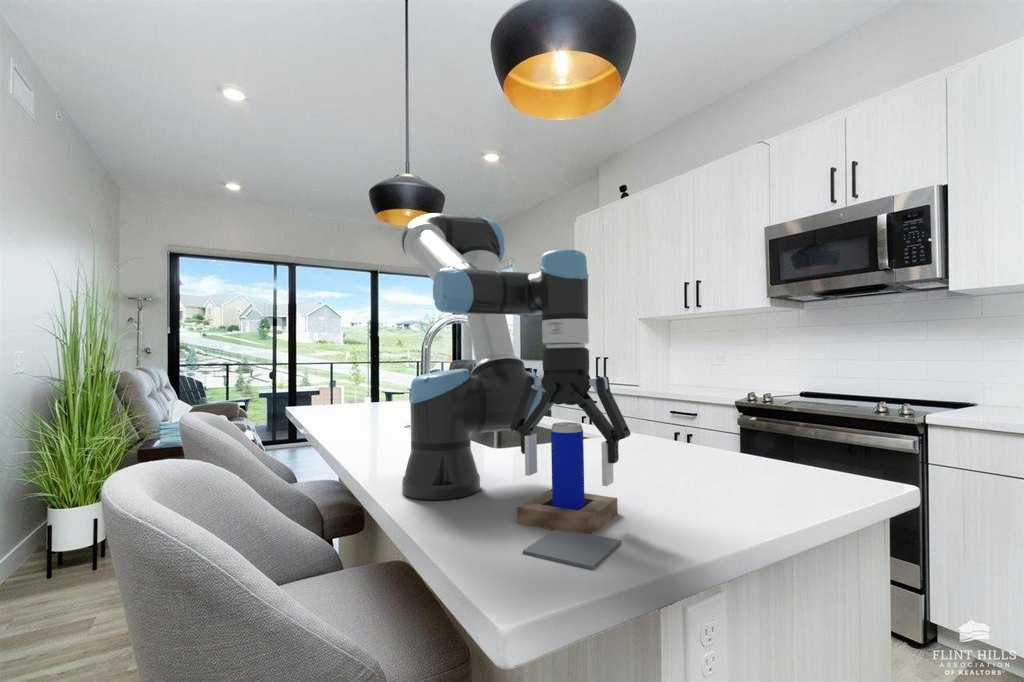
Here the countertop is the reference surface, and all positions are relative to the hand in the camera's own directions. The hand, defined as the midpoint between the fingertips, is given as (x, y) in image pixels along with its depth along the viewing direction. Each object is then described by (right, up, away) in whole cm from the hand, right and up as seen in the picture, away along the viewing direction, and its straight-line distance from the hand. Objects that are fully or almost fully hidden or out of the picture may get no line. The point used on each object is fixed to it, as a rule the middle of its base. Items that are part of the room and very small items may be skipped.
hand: (567, 478), depth 81 cm
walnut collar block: (0, -6, 0) cm, 6 cm away
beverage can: (0, -6, 0) cm, 6 cm away
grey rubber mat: (-1, -6, -13) cm, 14 cm away
